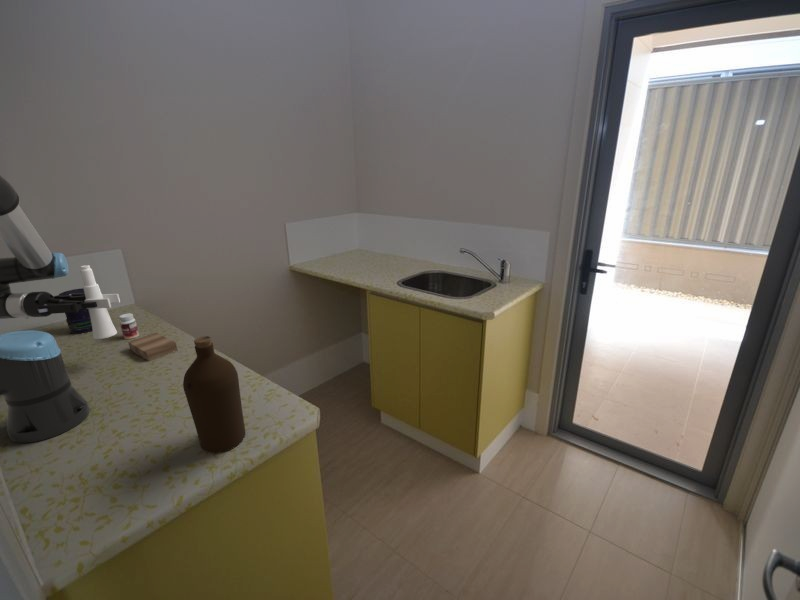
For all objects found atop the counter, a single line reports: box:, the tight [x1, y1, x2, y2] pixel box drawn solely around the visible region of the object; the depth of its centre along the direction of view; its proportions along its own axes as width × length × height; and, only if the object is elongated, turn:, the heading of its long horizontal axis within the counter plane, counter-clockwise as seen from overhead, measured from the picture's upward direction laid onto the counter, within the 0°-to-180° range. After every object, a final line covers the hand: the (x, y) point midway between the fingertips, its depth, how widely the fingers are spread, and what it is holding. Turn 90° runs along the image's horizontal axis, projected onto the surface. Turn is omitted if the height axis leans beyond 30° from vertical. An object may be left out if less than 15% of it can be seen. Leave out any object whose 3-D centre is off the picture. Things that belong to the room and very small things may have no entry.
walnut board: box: [127, 332, 178, 362], centre depth 132 cm, size 14×9×3 cm, turn 54°
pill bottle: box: [118, 312, 140, 340], centre depth 142 cm, size 5×5×8 cm
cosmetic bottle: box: [79, 264, 118, 340], centre depth 118 cm, size 6×6×22 cm
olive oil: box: [182, 335, 246, 454], centre depth 85 cm, size 11×11×25 cm
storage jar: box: [58, 287, 93, 335], centre depth 149 cm, size 10×10×15 cm
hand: (113, 300), depth 118 cm, fingers closed on cosmetic bottle, 4 cm apart
